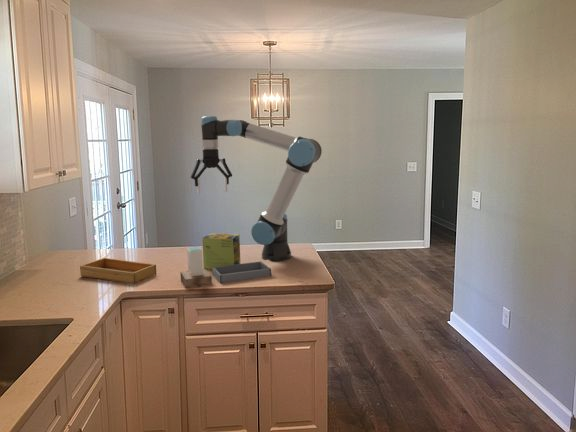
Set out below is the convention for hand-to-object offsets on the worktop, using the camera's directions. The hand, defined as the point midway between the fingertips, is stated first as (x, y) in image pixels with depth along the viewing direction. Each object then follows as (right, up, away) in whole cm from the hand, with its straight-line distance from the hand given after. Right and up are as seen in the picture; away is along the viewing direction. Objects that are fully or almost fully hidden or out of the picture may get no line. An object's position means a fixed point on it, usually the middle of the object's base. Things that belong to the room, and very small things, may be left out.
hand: (212, 192), depth 239 cm
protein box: (+6, -37, -6) cm, 38 cm away
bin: (+17, -39, -22) cm, 48 cm away
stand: (-2, -41, -29) cm, 50 cm away
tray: (-40, -40, -17) cm, 59 cm away
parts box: (-2, -37, -30) cm, 48 cm away
